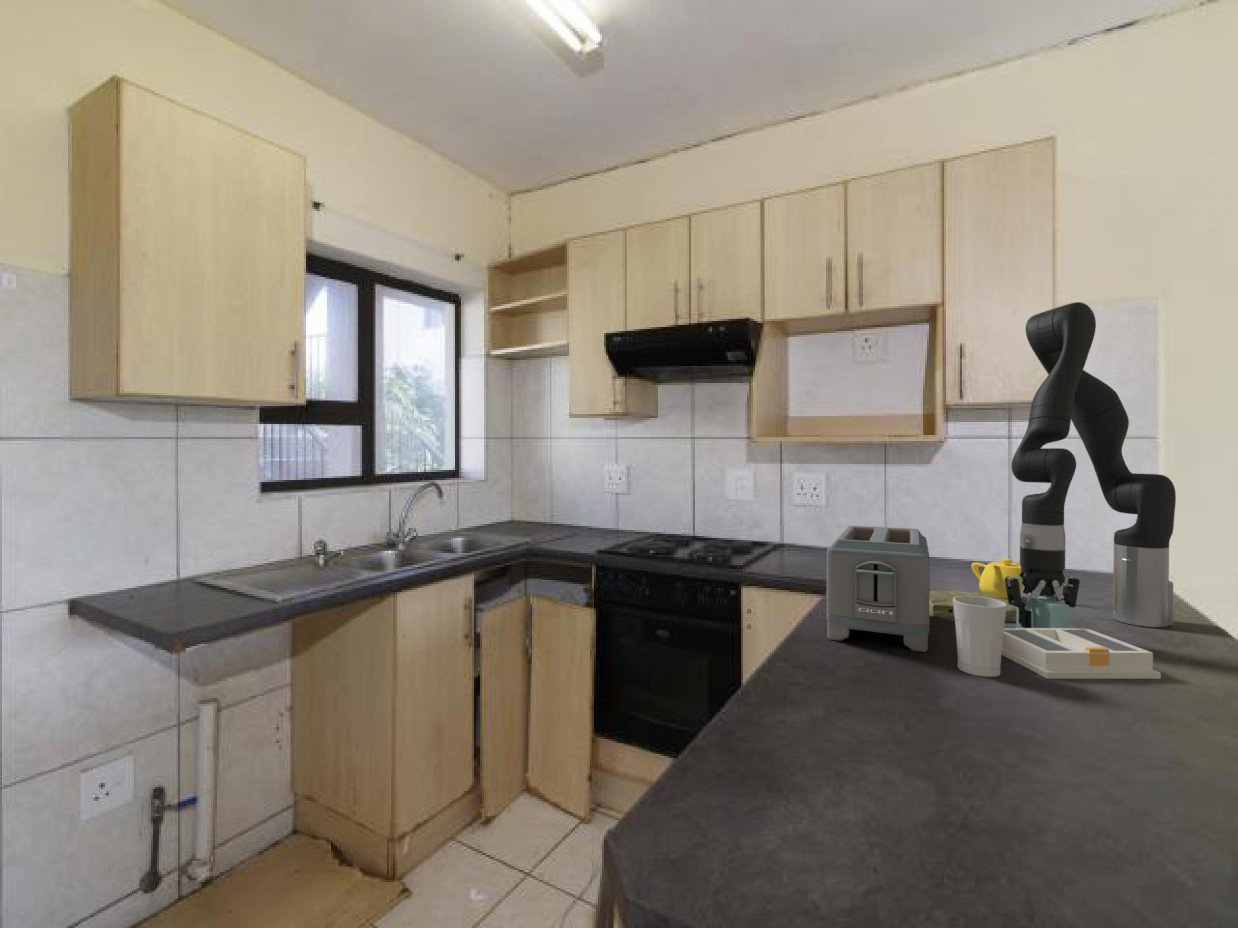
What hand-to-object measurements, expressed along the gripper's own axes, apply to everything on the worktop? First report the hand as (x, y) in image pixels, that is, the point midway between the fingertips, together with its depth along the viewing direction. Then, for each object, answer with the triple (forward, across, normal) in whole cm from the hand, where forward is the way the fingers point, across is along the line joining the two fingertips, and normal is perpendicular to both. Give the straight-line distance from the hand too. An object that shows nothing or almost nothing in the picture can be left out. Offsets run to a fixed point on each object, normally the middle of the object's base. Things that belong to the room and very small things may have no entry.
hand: (1041, 627), depth 119 cm
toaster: (+2, +31, -6) cm, 31 cm away
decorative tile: (+3, +3, -21) cm, 22 cm away
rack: (+2, +6, +14) cm, 15 cm away
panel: (+2, 0, 0) cm, 2 cm away
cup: (+2, +24, +18) cm, 30 cm away
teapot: (+2, -16, -34) cm, 38 cm away
